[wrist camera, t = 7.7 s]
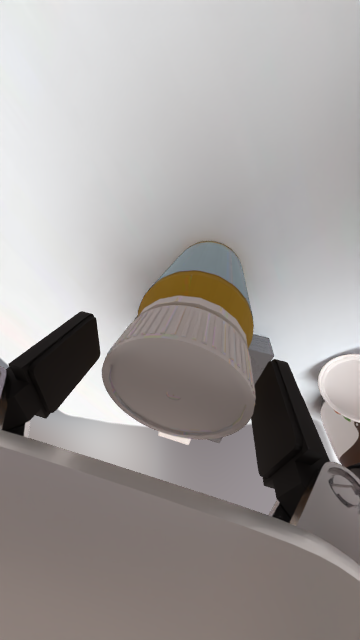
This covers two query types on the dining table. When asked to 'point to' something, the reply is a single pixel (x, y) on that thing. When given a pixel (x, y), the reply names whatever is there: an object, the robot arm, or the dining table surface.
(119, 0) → the dining table surface
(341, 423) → the spread jar
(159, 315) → the bottle
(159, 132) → the dining table surface
